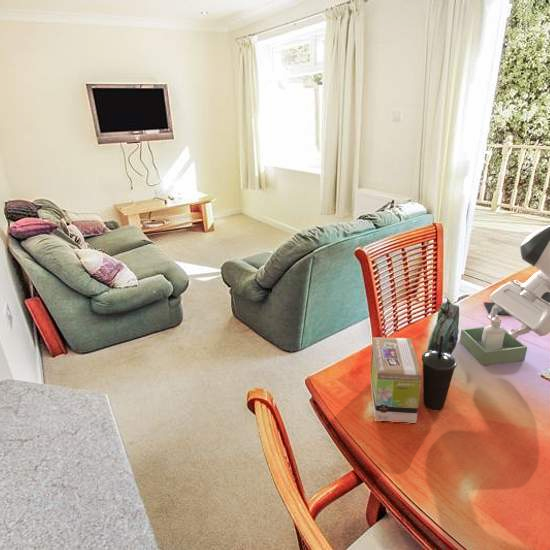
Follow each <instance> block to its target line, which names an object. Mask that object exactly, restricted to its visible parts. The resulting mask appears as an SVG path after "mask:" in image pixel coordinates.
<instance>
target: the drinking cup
mask: <svg viewBox="0 0 550 550" xmlns="http://www.w3.org/2000/svg"><path fill="white" fill-rule="evenodd" d="M442 345H443V336H440V343H439V350H430V351H427V350H426V351H424V353H423V354H422V355H421V361H422V403H423V405H424V407H425V408H426V409H428V408H429V409H428V410H430V409H431V410H430V411H433V410H439V411H441V409H442V410H443V409H445V408H444V407H445V404H446V400H447V396H448V393H449V390H450V386H451V382H452V379H453V375H454V373H455V372H454V371H455V369H456V368H457V366H458V361H457V359H456V358H455V356H454V355H452V354H449V353H447V352H444V351H442Z"/></svg>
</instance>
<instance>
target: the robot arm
mask: <svg viewBox="0 0 550 550" xmlns="http://www.w3.org/2000/svg"><path fill="white" fill-rule="evenodd" d="M519 247H520V249H519V251H520V256H521V259H522V260H523V261H524V262H526V263H528V264H529V265H531V266H532V267H535V268H536V269H537V270H538V271H537V272H535V273H533V274H532V276H530V277H529V278H528V279H527V280H526V281H525V282H523V283H521V282H520V281H518V280H509V281H507V282H506V283H504V284H502V285H501V286H499V287H498V288H496V290H494V291H493V292H492V293H491V294H490V295H489V300H490V301H491V303H494V304H495V305H494V306H493V307H492V310H491V313H490V314H489V313H488V314H487V316H486V317H487V319H488V320H490V321H491V319H492V318H495V316H496V315H497V313H498V311H499V312H500V311H502V310H504V311H505V312H507V313H508V314H510V315H511V316H510V317H512V318H514V319H515V320H517V321H518V322H519V323H520V324H521V325H520V327H519V328H517V329H514V328H512V329H511V330H510V331H508V332H509V333H508V334H509V335H510V336H511V337H513V338H514V339H516V338H517V339H518V337H519V336H522V335H526V334H529V333H530V332H531V331H532V332H533V333H534V334H536V335H538V336H539V337H543V336H547V335H549V334H550V224H549V225H547V226H544V227H542V228H540V229H537V230H536V231H534V232H533V233H530V234H529V235H528V236H527V237H526V238H525V239H524V240H523V242H522V243H521V245H520V246H519Z"/></svg>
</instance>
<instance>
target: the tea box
mask: <svg viewBox="0 0 550 550" xmlns="http://www.w3.org/2000/svg"><path fill="white" fill-rule="evenodd" d="M371 342H372V343H371V357H370V359H371V361H370V390H371V399H372V407H373V408H374V409H373V415H374V416H373V417H375V418H374V420H375V419H376V420H382V421H383V420H384V421H399V422H412V423H416V424H417V421H418V412H419V411H418V409H419V404H420V403H419V402H420V397H421V396H420V395H421V386H422V379H423V373H422V371H421V368H420V364H419V360H418V357H417V355H416V351H415V348H414V345H413V341H412V338H409V337H380V336H379V337H378V336H377V337H376V336H373V337H372V340H371Z"/></svg>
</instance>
